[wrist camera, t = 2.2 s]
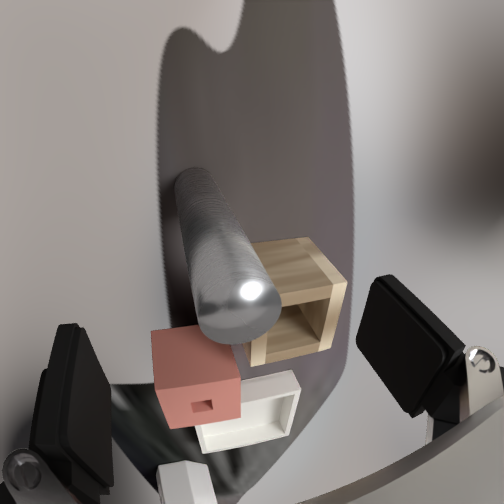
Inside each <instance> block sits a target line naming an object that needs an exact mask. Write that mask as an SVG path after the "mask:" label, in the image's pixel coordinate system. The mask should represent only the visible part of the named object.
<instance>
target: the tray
mask: <svg viewBox="0 0 504 504" xmlns="http://www.w3.org/2000/svg"><path fill="white" fill-rule="evenodd" d="M300 392H301V388H300V386H299V384H298V382H297V380H296V378H295V375H294V373H293V371H292V369H291V370H287V371H283V372H278V373H274V374H269V375H265V376H260V377H255V378H251V379H246V380H241V418H237V419H232V420H226V421H221V422H215V423H209V424H203V425H196V426H195V429H196V432H197V436H198V439H199V443H200V446H201V449H202V453H203V454H204V453H210V452H216V451H222V450H227V449H232V448H237V447H242V446H247V445H251V444H256V443H260V442H264V441H268V440H272V439H276V438H280V437H284V436H288V435H289V432H290V429H291V425H292V422H293V418H294V414H295V411H296V407H297V403H298V399H299V396H300Z"/></svg>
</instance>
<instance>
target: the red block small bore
mask: <svg viewBox="0 0 504 504" xmlns="http://www.w3.org/2000/svg"><path fill="white" fill-rule="evenodd" d="M151 342H152V358H153V372H154V384H155V391H156V394H157V397H158V399H159V402H160V405H161V407H162V410H163V412H164V415H165V417H166V420H167V422H168V425H169V427H170V429H174V428H182V427H190V426H196V425H203V424H209V423H215V422H221V421H226V420H232V419H237V418H241V377H240V374H239V371H238V368H237V365H236V362H235V358H234V355H233V352H232V349H231V346H230V345H229V344H221V343H218V342H215V341H213V340H211V339H209V338H208V337H207V336H205V334H204V333H203V332H202V331H201V329H200V327H199V325H192V326H185V327H178V328H170V329H162V330H155V331H151Z"/></svg>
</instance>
